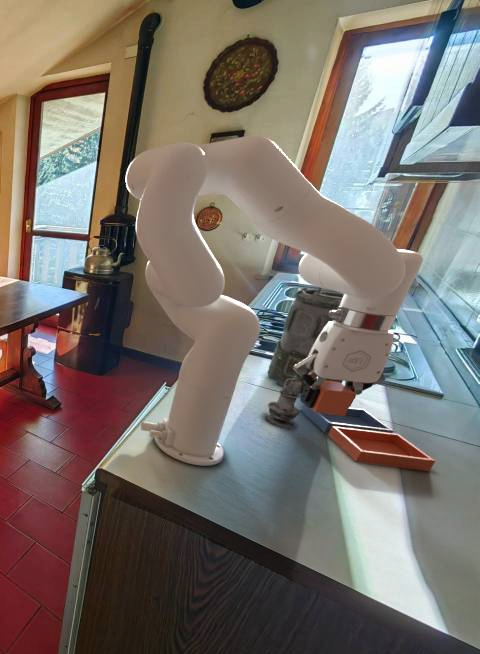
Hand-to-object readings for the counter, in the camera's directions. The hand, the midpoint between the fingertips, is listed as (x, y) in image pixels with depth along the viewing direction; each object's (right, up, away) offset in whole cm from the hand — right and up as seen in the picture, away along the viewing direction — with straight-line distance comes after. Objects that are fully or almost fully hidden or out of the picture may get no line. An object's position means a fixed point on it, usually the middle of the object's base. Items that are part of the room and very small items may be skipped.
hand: (323, 405), depth 77 cm
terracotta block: (0, 0, 0) cm, 1 cm away
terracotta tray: (+14, -10, +4) cm, 18 cm away
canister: (+23, +2, +32) cm, 40 cm away
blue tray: (+17, -6, +13) cm, 22 cm away
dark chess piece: (+2, -6, +14) cm, 15 cm away
